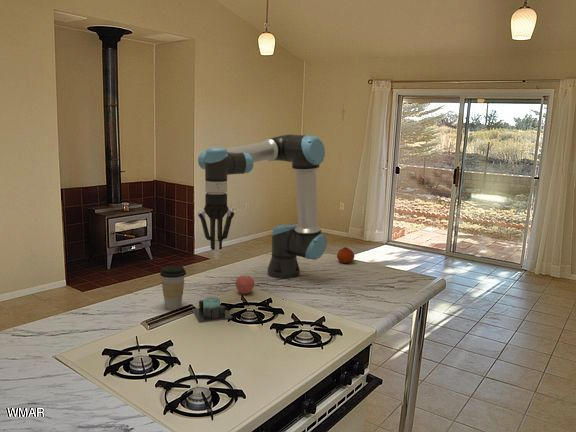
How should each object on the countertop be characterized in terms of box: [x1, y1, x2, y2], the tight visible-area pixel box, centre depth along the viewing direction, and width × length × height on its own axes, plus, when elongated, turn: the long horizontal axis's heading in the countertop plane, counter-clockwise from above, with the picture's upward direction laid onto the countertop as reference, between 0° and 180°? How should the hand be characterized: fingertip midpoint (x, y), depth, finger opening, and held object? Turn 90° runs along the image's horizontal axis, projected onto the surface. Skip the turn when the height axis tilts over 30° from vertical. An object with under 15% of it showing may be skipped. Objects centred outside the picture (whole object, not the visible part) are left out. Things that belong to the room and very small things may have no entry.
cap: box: [202, 296, 221, 314], centre depth 172 cm, size 6×6×5 cm
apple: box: [235, 274, 255, 295], centre depth 195 cm, size 7×7×8 cm
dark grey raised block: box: [191, 299, 233, 324], centre depth 173 cm, size 12×12×4 cm
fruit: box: [336, 247, 355, 264], centre depth 246 cm, size 9×9×8 cm
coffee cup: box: [159, 265, 187, 311], centre depth 177 cm, size 9×9×15 cm
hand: (216, 258), depth 171 cm, fingers closed
